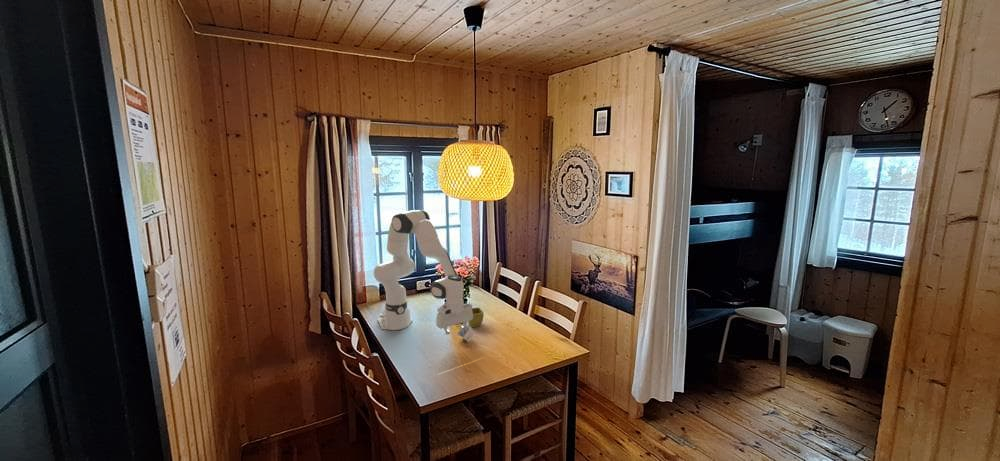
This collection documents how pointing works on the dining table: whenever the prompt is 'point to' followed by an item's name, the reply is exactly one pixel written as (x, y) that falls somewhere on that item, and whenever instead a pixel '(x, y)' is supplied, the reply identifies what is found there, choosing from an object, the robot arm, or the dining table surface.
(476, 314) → the flower pot
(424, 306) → the dining table surface
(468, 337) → the letter cube
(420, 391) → the dining table surface
